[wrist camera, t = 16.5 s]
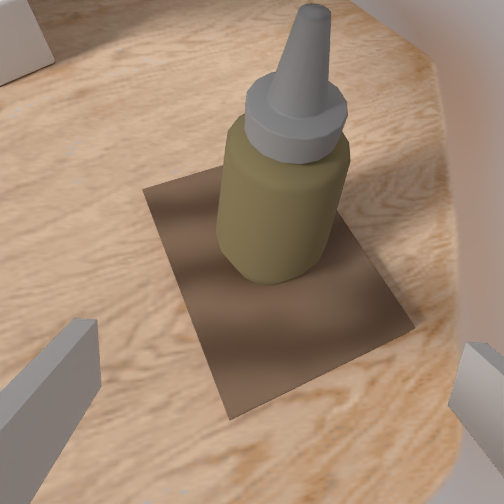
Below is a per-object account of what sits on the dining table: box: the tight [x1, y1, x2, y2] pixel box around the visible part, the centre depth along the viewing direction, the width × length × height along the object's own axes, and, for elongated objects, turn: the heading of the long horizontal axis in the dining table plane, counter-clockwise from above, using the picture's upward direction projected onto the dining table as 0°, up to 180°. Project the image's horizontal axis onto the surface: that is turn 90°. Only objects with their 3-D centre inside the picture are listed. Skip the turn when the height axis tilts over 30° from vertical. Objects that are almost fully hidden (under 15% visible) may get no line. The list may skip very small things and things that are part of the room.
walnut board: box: [142, 165, 415, 420], centre depth 29 cm, size 20×15×2 cm
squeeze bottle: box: [216, 4, 350, 285], centre depth 20 cm, size 8×8×18 cm
